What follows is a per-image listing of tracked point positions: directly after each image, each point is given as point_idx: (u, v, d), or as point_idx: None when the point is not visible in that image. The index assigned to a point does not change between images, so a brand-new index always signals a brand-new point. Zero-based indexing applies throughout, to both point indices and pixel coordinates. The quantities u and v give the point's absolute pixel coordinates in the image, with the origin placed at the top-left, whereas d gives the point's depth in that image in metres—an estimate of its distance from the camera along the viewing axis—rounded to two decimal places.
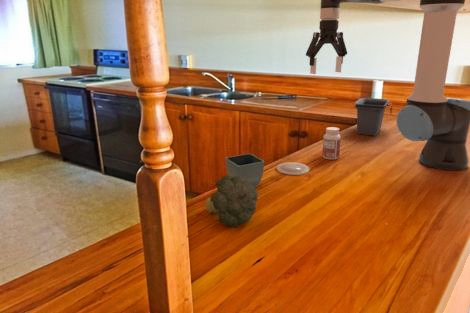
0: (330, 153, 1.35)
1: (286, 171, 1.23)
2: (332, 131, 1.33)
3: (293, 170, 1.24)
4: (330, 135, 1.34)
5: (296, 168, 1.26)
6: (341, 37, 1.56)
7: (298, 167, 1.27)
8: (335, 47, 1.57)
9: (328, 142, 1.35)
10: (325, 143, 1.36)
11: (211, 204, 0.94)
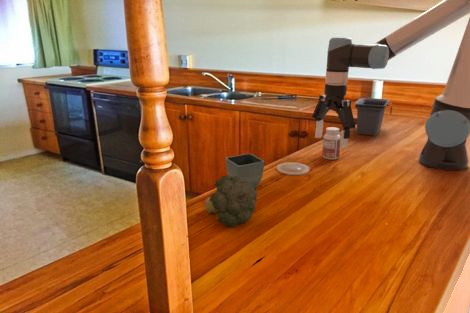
0: (330, 153, 1.35)
1: (286, 171, 1.23)
2: (332, 131, 1.33)
3: (293, 170, 1.24)
4: (330, 135, 1.34)
5: (296, 168, 1.26)
6: (344, 106, 1.27)
7: (298, 167, 1.27)
8: None
9: (328, 142, 1.35)
10: (325, 143, 1.36)
11: (210, 204, 0.94)
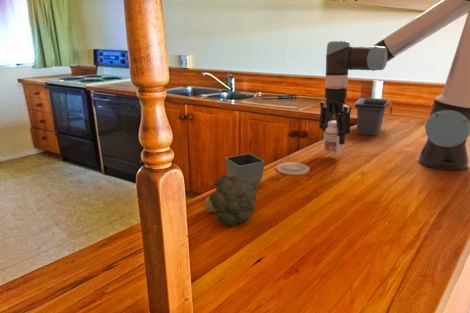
0: (332, 147, 1.34)
1: (286, 171, 1.23)
2: (334, 124, 1.33)
3: (293, 170, 1.24)
4: (332, 128, 1.33)
5: (296, 168, 1.26)
6: (343, 112, 1.28)
7: (298, 167, 1.27)
8: None
9: (330, 135, 1.34)
10: (327, 137, 1.35)
11: (210, 203, 0.94)
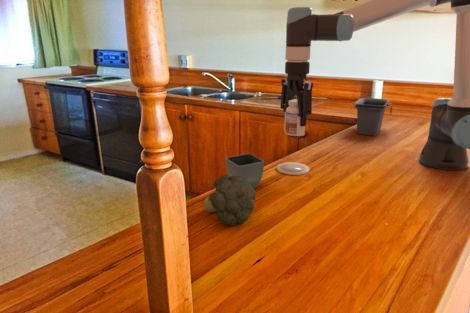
0: (292, 129, 1.20)
1: (286, 171, 1.23)
2: (295, 103, 1.18)
3: (293, 170, 1.24)
4: (292, 108, 1.18)
5: (296, 168, 1.26)
6: (304, 89, 1.13)
7: (298, 167, 1.27)
8: None
9: (290, 115, 1.19)
10: (287, 117, 1.20)
11: (209, 203, 0.94)
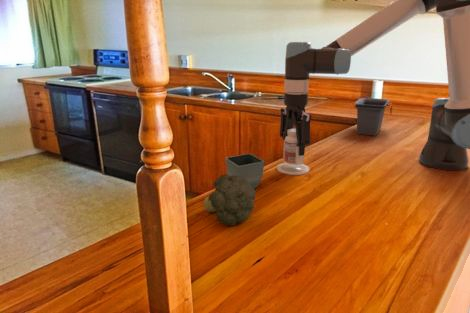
0: (291, 157, 1.23)
1: (286, 171, 1.23)
2: (293, 133, 1.21)
3: (293, 170, 1.24)
4: (291, 137, 1.21)
5: (296, 168, 1.26)
6: (302, 121, 1.16)
7: (298, 167, 1.27)
8: None
9: (289, 145, 1.22)
10: (286, 147, 1.23)
11: (209, 203, 0.95)
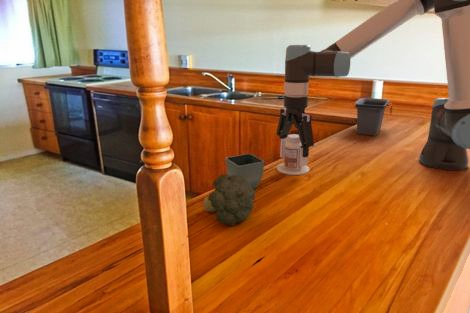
0: (291, 163, 1.23)
1: (286, 171, 1.23)
2: (293, 139, 1.21)
3: (293, 170, 1.24)
4: (291, 143, 1.22)
5: None
6: (303, 122, 1.16)
7: None
8: None
9: (289, 150, 1.22)
10: (286, 152, 1.23)
11: (209, 203, 0.95)
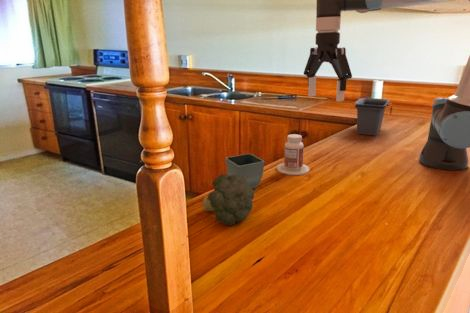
0: (291, 163, 1.23)
1: (286, 171, 1.23)
2: (293, 139, 1.21)
3: (293, 170, 1.24)
4: (291, 143, 1.22)
5: None
6: (338, 54, 1.15)
7: None
8: None
9: (289, 150, 1.22)
10: (286, 152, 1.23)
11: (208, 203, 0.95)
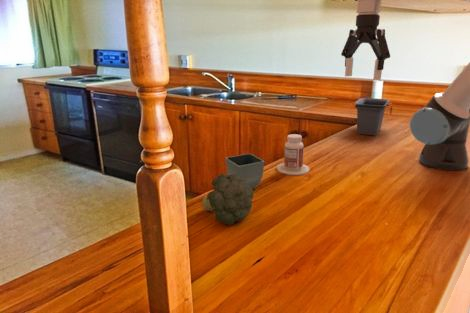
0: (291, 163, 1.23)
1: (286, 171, 1.23)
2: (293, 139, 1.21)
3: (293, 170, 1.24)
4: (291, 143, 1.22)
5: None
6: (377, 35, 1.22)
7: None
8: None
9: (289, 150, 1.22)
10: (286, 152, 1.23)
11: (207, 202, 0.95)
